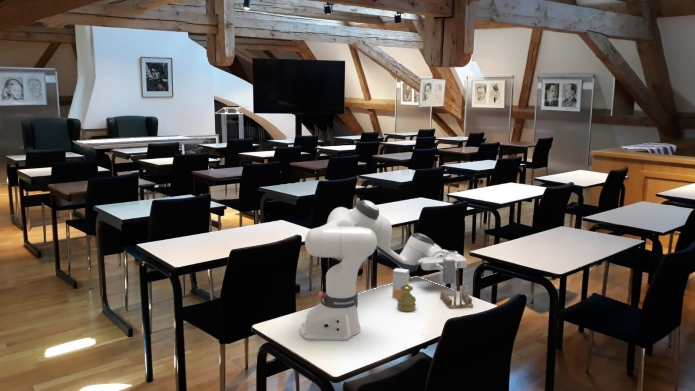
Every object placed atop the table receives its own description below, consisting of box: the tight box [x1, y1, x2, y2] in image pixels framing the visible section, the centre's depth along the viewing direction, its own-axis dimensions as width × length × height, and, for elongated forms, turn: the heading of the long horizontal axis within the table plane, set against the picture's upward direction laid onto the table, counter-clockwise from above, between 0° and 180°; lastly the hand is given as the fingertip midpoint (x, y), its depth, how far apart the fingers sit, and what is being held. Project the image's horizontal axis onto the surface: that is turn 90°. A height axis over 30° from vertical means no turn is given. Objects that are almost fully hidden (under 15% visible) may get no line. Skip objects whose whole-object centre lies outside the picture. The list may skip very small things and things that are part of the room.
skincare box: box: [391, 267, 410, 298], centre depth 242 cm, size 6×4×12 cm
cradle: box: [439, 284, 474, 310], centre depth 235 cm, size 10×12×9 cm
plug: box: [442, 257, 456, 285], centre depth 243 cm, size 4×4×11 cm
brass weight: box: [396, 284, 417, 313], centre depth 229 cm, size 7×7×10 cm
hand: (449, 268), depth 243 cm, fingers closed on plug, 4 cm apart
